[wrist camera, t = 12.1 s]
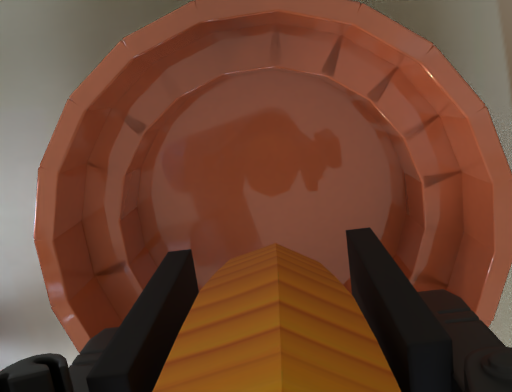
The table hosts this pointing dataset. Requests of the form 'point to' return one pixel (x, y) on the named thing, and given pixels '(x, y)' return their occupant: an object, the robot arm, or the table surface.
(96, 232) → the basin
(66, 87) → the table surface
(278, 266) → the carrot
